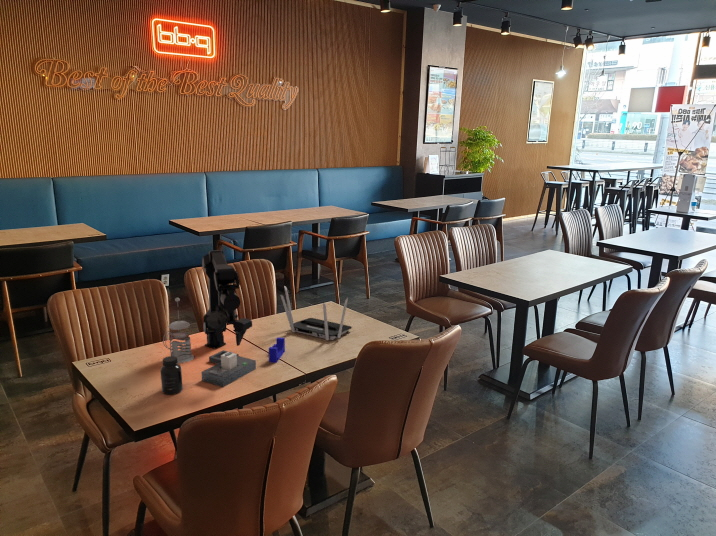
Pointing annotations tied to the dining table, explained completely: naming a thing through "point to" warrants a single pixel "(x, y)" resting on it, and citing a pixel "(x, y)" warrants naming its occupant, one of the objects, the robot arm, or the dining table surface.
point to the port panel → (228, 372)
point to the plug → (229, 360)
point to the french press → (185, 352)
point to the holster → (217, 357)
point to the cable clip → (277, 350)
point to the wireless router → (316, 323)
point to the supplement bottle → (171, 376)
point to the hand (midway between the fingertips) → (228, 343)
